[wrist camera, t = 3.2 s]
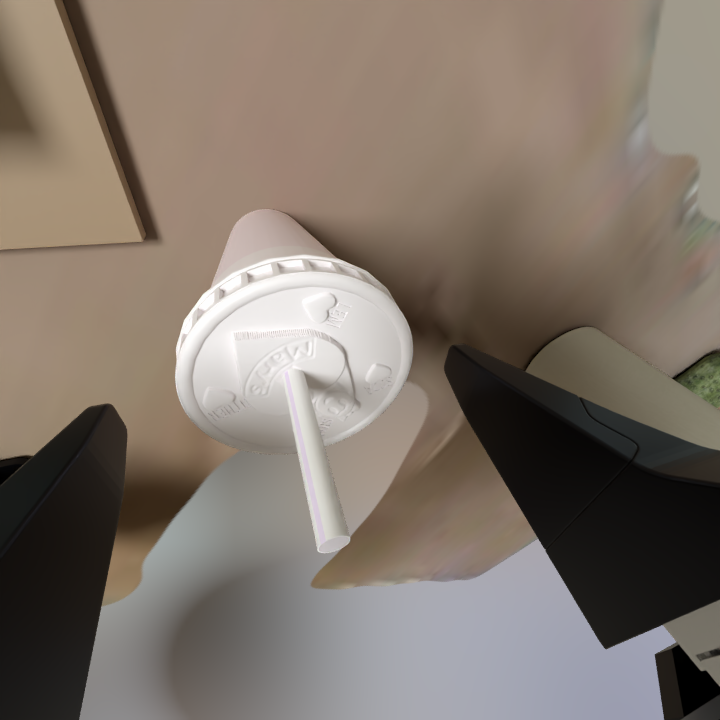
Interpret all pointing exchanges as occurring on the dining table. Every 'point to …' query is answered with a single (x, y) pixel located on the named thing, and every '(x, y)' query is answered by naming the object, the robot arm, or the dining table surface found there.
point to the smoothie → (291, 355)
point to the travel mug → (626, 385)
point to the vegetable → (704, 379)
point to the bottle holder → (55, 139)
